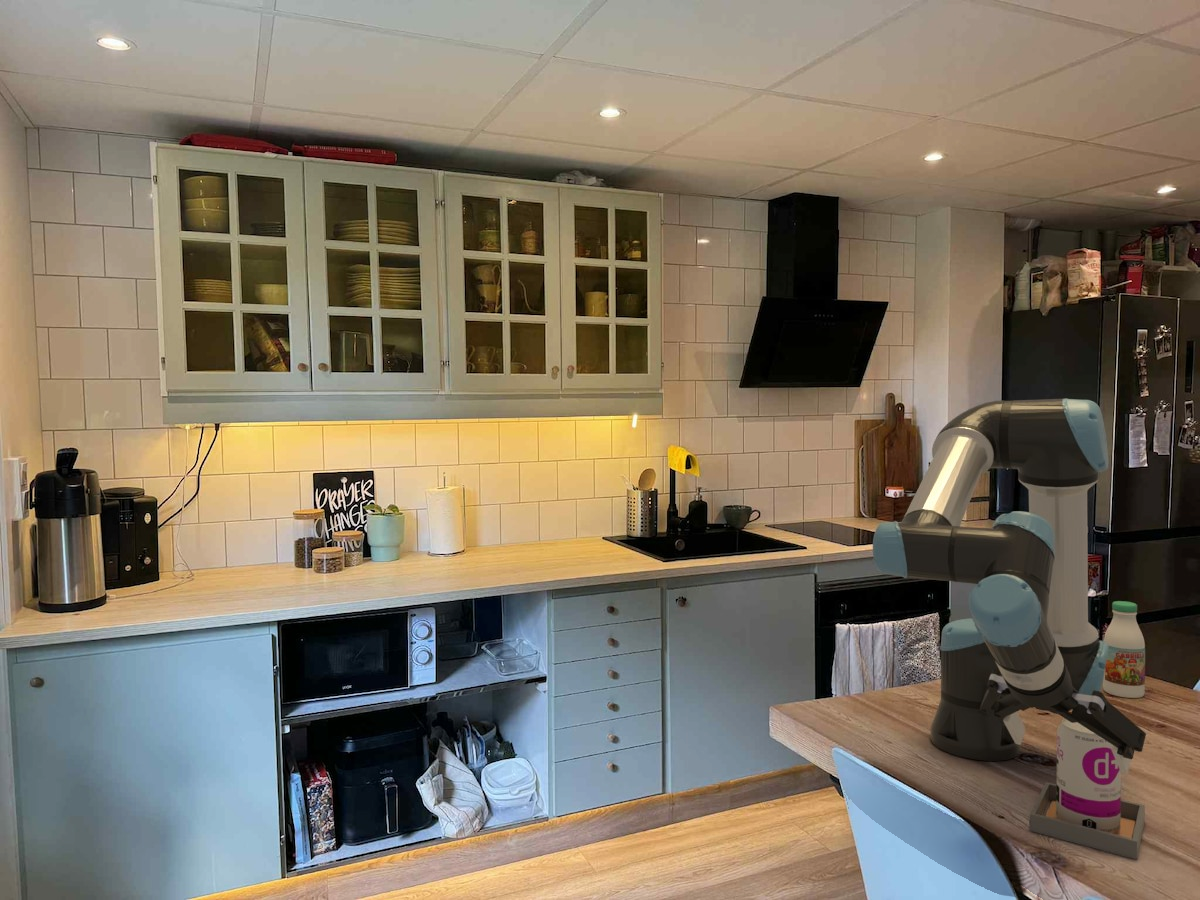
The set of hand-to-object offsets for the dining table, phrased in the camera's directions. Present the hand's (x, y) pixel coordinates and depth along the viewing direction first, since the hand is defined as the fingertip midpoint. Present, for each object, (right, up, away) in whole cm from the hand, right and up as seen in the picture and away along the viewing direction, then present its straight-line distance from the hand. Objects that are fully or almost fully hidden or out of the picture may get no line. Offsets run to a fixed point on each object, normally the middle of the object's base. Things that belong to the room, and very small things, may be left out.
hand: (1071, 749), depth 115 cm
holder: (+6, -13, +6) cm, 16 cm away
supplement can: (+6, -13, +6) cm, 16 cm away
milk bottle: (+48, -11, +63) cm, 80 cm away
